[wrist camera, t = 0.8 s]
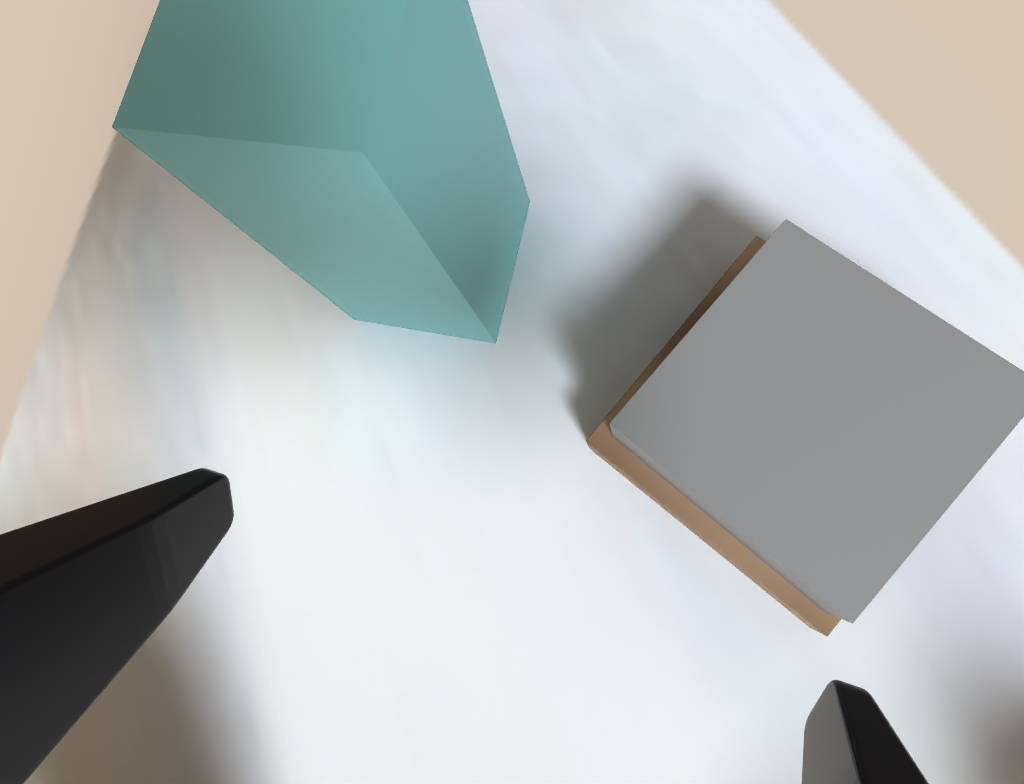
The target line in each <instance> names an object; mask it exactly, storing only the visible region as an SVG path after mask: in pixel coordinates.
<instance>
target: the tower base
mask: <svg viewBox="0 0 1024 784" xmlns="http://www.w3.org/2000/svg"><path fill="white" fill-rule="evenodd" d="M765 243H766V242H765V241H764V240H762V239H761V238H759V237H757V236H756V237H755V238H754V239H753V241H752V242H751V243H750V244H749V246H748V247H747V248H746V249H745V250H744V252H743V253H742V254H741V255H740V256H739V258H738V259H737V260H736V261H735V262H734V264H733V265H732V266H731V267H730V268H729V270H728V271H727V272H726V273H725V274H724V276H723V277H722V278H721V279H720V280H719V282H718V283H717V284H716V285H715V286H714V288H713V289H712V290H711V291H710V293H709V294H708V295H707V296H706V297H705V299H704V300H703V301H702V302H701V303H700V305H699V306H698V307H697V308H696V309H695V311H694V312H693V313H692V314H691V315H690V317H689V318H688V319H687V320H686V321H685V323H684V324H683V325H682V326H681V327H680V329H679V330H678V331H677V332H676V333H675V335H674V336H673V337H672V338H671V340H670V341H669V342H668V343H667V344H666V346H665V347H664V348H663V349H662V350H661V352H660V353H659V354H658V355H657V356H656V358H655V359H654V360H653V361H652V362H651V364H650V365H649V366H648V367H647V368H646V370H645V371H644V372H643V373H642V374H641V376H640V377H639V378H638V379H637V381H636V382H635V383H634V384H633V385H632V387H631V388H630V389H629V390H628V391H627V393H626V394H625V395H624V396H623V397H622V399H621V400H620V401H619V402H618V403H617V405H616V406H615V407H614V408H613V409H612V411H611V412H610V413H609V414H608V415H607V417H606V418H605V419H604V420H603V421H602V423H601V424H600V425H599V426H598V428H597V429H596V430H595V431H594V432H593V434H592V435H591V436H590V437H589V438H588V440H587V441H586V442H587V444H588V446H589V447H590V449H591V450H592V451H593V452H595V453H596V454H597V455H598V456H600V457H601V458H602V459H603V460H604V461H606V462H607V463H608V464H609V465H611V466H612V467H613V468H614V469H616V470H617V471H618V472H619V473H620V474H622V475H623V476H624V477H625V478H627V479H628V480H629V481H630V482H632V483H633V484H634V485H635V486H636V487H638V488H639V489H640V490H641V491H643V492H644V493H645V494H646V495H648V496H649V497H650V498H651V499H652V500H654V501H655V502H656V503H657V504H659V505H660V506H661V507H662V508H664V509H665V510H666V511H667V512H668V513H670V514H671V515H672V516H673V517H675V518H676V519H677V520H678V521H680V522H681V523H682V524H683V525H684V526H686V527H687V528H688V529H689V530H691V531H692V532H693V533H694V534H696V535H697V536H698V537H699V538H700V539H702V540H703V541H704V542H705V543H707V544H708V545H709V546H710V547H712V548H713V549H714V550H715V551H716V552H718V553H719V554H720V555H721V556H723V557H724V558H725V559H726V560H728V561H729V562H730V563H731V564H733V565H734V566H735V567H736V568H737V569H739V570H740V571H741V572H742V573H744V574H745V575H746V576H747V577H749V578H750V579H751V580H752V581H753V582H755V583H756V584H757V585H758V586H760V587H761V588H762V589H763V590H765V591H766V592H767V593H768V594H769V595H771V596H772V597H773V598H774V599H776V600H777V601H778V602H779V603H781V604H782V605H783V606H784V607H785V608H787V609H788V610H789V611H790V612H792V613H793V614H794V615H795V616H797V617H798V618H799V619H800V620H801V621H803V622H804V623H805V624H806V625H808V626H809V627H810V628H812V629H814V630H816V631H818V632H820V633H822V634H824V635H826V636H828V635H829V634H830V632H831V631H832V630H833V629H834V627H835V626H836V625H837V624H838V622H839V621H840V620H841V619H840V618H838V617H835V616H833V615H830V614H828V613H825V612H824V611H823V610H821V609H820V608H819V607H818V606H817V605H815V604H814V603H813V602H812V601H811V600H809V599H808V598H807V597H806V596H805V595H803V594H802V593H801V592H800V591H799V590H797V589H796V588H795V587H794V586H792V585H791V584H790V583H789V582H788V581H786V580H785V579H784V578H783V577H782V576H780V575H779V574H778V573H777V572H776V571H774V570H773V569H772V568H771V567H770V566H768V565H767V564H766V563H765V562H764V561H762V560H761V559H760V558H759V557H757V556H756V555H755V554H754V553H753V552H751V551H750V550H749V549H748V548H747V547H745V546H744V545H743V544H742V543H741V542H739V541H738V540H737V539H736V538H735V537H733V536H732V535H731V534H730V533H729V532H727V531H726V530H725V529H724V528H722V527H721V526H720V525H719V524H718V523H716V522H715V521H714V520H713V519H712V518H710V517H709V516H708V515H707V514H706V513H704V512H703V511H702V510H701V509H700V508H698V507H697V506H696V505H695V504H694V503H692V502H691V501H690V500H689V499H687V498H686V497H685V496H684V495H683V494H681V493H680V492H679V491H678V490H677V489H675V488H674V487H673V486H672V485H671V484H669V483H668V482H667V481H666V480H665V479H663V478H662V477H661V476H660V475H659V474H657V473H656V472H655V471H654V470H652V469H651V468H650V467H649V466H648V465H646V464H645V463H644V462H643V461H642V460H640V459H639V458H638V457H637V456H636V455H634V454H633V453H632V452H631V451H630V450H628V449H627V448H626V447H625V446H624V445H622V444H621V443H620V442H619V441H618V440H616V439H615V438H614V437H613V436H612V431H611V427H610V422H611V421H612V420H613V419H614V418H615V417H616V415H617V414H618V413H619V412H620V411H621V410H622V408H623V407H624V406H625V405H626V404H627V403H628V402H629V400H630V399H631V398H632V397H633V396H634V395H635V393H636V392H637V391H638V390H639V389H640V388H641V386H642V385H643V384H644V383H645V382H646V381H647V380H648V378H649V377H650V376H651V375H652V374H653V373H654V371H655V370H656V369H657V368H658V367H659V366H660V364H661V363H662V362H663V361H664V360H665V359H666V358H667V356H668V355H669V354H670V353H671V352H672V351H673V349H674V348H675V347H676V346H677V345H678V344H679V342H680V341H681V340H682V339H683V338H684V337H685V336H686V334H687V333H688V332H689V331H690V330H691V329H692V327H693V326H694V325H695V324H696V323H697V322H698V320H699V319H700V318H701V317H702V316H703V315H704V314H705V312H706V311H707V310H708V309H709V308H710V307H711V305H712V304H713V303H714V302H715V301H716V300H717V298H718V297H719V296H720V295H721V294H722V293H723V292H724V290H725V289H726V288H727V287H728V286H729V285H730V283H731V282H732V281H733V280H734V279H735V278H736V276H737V275H738V274H739V273H740V272H741V271H742V270H743V268H744V267H745V266H746V265H747V264H748V263H749V261H750V260H751V259H752V258H753V257H754V256H755V254H756V253H757V252H758V251H759V250H760V249H761V248H762V246H763V245H764V244H765Z"/></svg>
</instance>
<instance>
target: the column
mask: <svg viewBox="0 0 1024 784" xmlns="http://www.w3.org/2000/svg"><path fill="white" fill-rule="evenodd" d="M112 127H113V128H114V129H115V130H116V131H118V132H119V133H120V134H122V135H123V136H124V137H125V138H127V139H128V140H129V141H130V142H132V143H133V144H134V145H135V146H137V147H138V148H139V149H140V150H142V151H143V152H144V153H145V154H147V155H148V156H149V157H151V158H152V159H153V160H154V161H156V162H157V163H158V164H159V165H161V166H162V167H163V168H164V169H166V170H167V171H168V172H169V173H171V174H172V175H173V176H174V177H176V178H177V179H178V180H179V181H181V182H182V183H183V184H185V185H186V186H187V187H188V188H190V189H191V190H192V191H193V192H195V193H196V194H197V195H198V196H200V197H201V198H202V199H203V200H205V201H206V202H207V203H208V204H210V205H211V206H212V207H213V208H215V209H216V210H217V211H219V212H220V213H221V214H222V215H224V216H225V217H226V218H227V219H229V220H230V221H231V222H232V223H234V224H235V225H236V226H237V227H239V228H240V229H241V230H242V231H244V232H245V233H246V234H248V235H249V236H250V237H251V238H253V239H254V240H255V241H256V242H258V243H259V244H260V245H261V246H263V247H264V248H265V249H266V250H268V251H269V252H270V253H271V254H273V255H274V256H275V257H276V258H278V259H279V260H280V261H282V262H283V263H284V264H285V265H287V266H288V267H289V268H290V269H292V270H293V271H294V272H295V273H297V274H298V275H299V276H300V277H302V278H303V279H304V280H305V281H307V282H308V283H309V284H311V285H312V286H313V287H314V288H316V289H317V290H318V291H319V292H321V293H322V294H323V295H324V296H326V297H327V298H328V299H329V300H331V301H332V302H333V303H334V304H336V305H337V306H338V307H339V308H341V309H342V310H343V311H345V312H346V313H347V314H348V315H350V316H351V317H352V318H353V319H355V320H361V321H367V322H373V323H379V324H385V325H391V326H397V327H403V328H409V329H415V330H421V331H427V332H433V333H439V334H445V335H451V336H457V337H463V338H468V339H474V340H480V341H486V342H492V343H496V340H497V336H498V332H499V328H500V324H501V319H502V315H503V311H504V307H505V303H506V298H507V294H508V290H509V286H510V282H511V277H512V273H513V269H514V265H515V261H516V256H517V252H518V248H519V244H520V240H521V235H522V231H523V227H524V223H525V219H526V214H527V210H528V206H529V202H530V201H529V198H528V195H527V191H526V188H525V185H524V182H523V178H522V175H521V172H520V169H519V165H518V162H517V159H516V156H515V152H514V149H513V146H512V143H511V139H510V136H509V133H508V130H507V126H506V123H505V120H504V117H503V113H502V110H501V107H500V104H499V100H498V97H497V94H496V91H495V87H494V84H493V81H492V78H491V74H490V71H489V68H488V65H487V62H486V58H485V55H484V52H483V49H482V45H481V42H480V39H479V36H478V32H477V29H476V26H475V23H474V19H473V16H472V13H471V10H470V6H469V3H468V0H160V2H159V5H158V7H157V10H156V13H155V15H154V18H153V20H152V23H151V26H150V28H149V31H148V34H147V36H146V39H145V42H144V44H143V47H142V49H141V52H140V55H139V57H138V60H137V63H136V65H135V68H134V71H133V73H132V76H131V78H130V81H129V84H128V87H127V89H126V92H125V94H124V97H123V100H122V102H121V105H120V107H119V110H118V113H117V116H116V118H115V121H114V123H113V126H112Z"/></svg>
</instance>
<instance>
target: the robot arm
mask: <svg viewBox="0 0 1024 784" xmlns="http://www.w3.org/2000/svg"><path fill="white" fill-rule="evenodd" d="M233 516H234V511H233V504H232V496H231V489H230V482H229V479H228V478H227V476H225V475H224V474H221V473H218V472H215V471H212V470H209V469H205V468H200V469H196V470H193V471H190V472H187V473H184V474H181V475H178V476H175V477H172V478H169V479H166V480H163V481H160V482H157V483H154V484H151V485H148V486H145V487H142V488H139V489H136V490H133V491H130V492H127V493H124V494H121V495H118V496H115V497H112V498H109V499H106V500H103V501H100V502H97V503H94V504H91V505H88V506H85V507H82V508H79V509H76V510H73V511H70V512H67V513H64V514H61V515H58V516H55V517H52V518H49V519H46V520H43V521H40V522H37V523H34V524H31V525H28V526H25V527H22V528H19V529H16V530H13V531H10V532H7V533H4V534H1V535H0V784H24V782H25V781H26V780H27V779H28V778H29V777H30V775H31V774H32V773H33V772H34V771H35V770H36V768H37V767H38V766H39V765H40V764H41V763H42V761H43V760H44V759H45V758H46V757H47V756H48V754H49V753H50V752H51V751H52V750H53V749H54V747H55V746H56V745H57V744H58V743H59V742H60V740H61V739H62V738H63V737H64V736H65V735H66V733H67V732H68V731H69V730H70V729H71V728H72V726H73V725H74V724H75V723H76V722H77V721H78V719H79V718H80V717H81V716H82V715H83V714H84V712H85V711H86V710H87V709H88V708H89V707H90V705H91V704H92V703H93V702H94V701H95V700H96V698H97V697H98V696H99V695H100V694H101V693H102V691H103V690H104V689H105V688H106V687H107V686H108V684H109V683H110V682H111V681H112V680H113V679H114V677H115V676H116V675H117V674H118V673H119V672H120V670H121V669H122V668H123V667H124V666H125V665H126V663H127V662H128V661H129V660H130V659H131V658H132V656H133V655H134V654H135V653H136V652H137V651H138V649H139V648H140V647H141V646H142V645H143V644H144V642H145V641H146V640H147V639H148V638H149V637H150V635H151V634H152V633H153V632H154V631H155V630H156V628H157V627H158V626H159V625H160V624H161V623H162V621H163V620H164V619H165V618H166V616H167V615H168V614H169V613H170V612H171V610H172V609H173V608H174V606H175V605H176V604H177V602H178V601H179V600H180V598H181V597H182V596H183V594H184V593H185V591H186V590H187V589H188V587H189V586H190V584H191V583H192V581H193V580H194V579H195V577H196V576H197V574H198V573H199V571H200V570H201V569H202V567H203V566H204V564H205V563H206V561H207V560H208V559H209V557H210V556H211V554H212V553H213V552H214V550H215V549H216V547H217V546H218V544H219V543H220V542H221V540H222V539H223V537H224V536H225V534H226V533H227V532H228V530H229V528H230V526H231V524H232V521H233ZM802 784H929V783H928V782H927V780H926V779H925V777H924V776H923V774H922V773H921V771H920V770H919V768H918V766H917V765H916V763H915V762H914V760H913V759H912V757H911V756H910V754H909V753H908V751H907V750H906V748H905V746H904V745H903V743H902V742H901V740H900V739H899V737H898V736H897V734H896V733H895V731H894V730H893V728H892V726H891V725H890V723H889V722H888V720H887V719H886V717H885V716H884V714H883V713H882V711H881V709H880V708H879V706H878V705H877V703H876V702H875V700H874V699H873V697H872V696H871V695H870V694H869V693H868V692H867V691H866V690H865V689H862V688H860V687H857V686H854V685H851V684H848V683H845V682H842V681H839V680H833V681H831V682H830V683H829V684H828V685H827V686H826V688H825V690H824V691H823V693H822V695H821V696H820V698H819V699H818V701H817V703H816V704H815V706H814V708H813V709H812V711H811V713H810V714H809V716H808V719H807V721H806V725H805V731H804V748H803V769H802Z"/></svg>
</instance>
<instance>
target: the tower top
mask: <svg viewBox="0 0 1024 784" xmlns="http://www.w3.org/2000/svg"><path fill="white" fill-rule="evenodd" d="M1023 417H1024V371H1022V370H1021V369H1019V368H1018V367H1016V366H1014V365H1013V364H1011V363H1010V362H1008V361H1007V360H1005V359H1003V358H1002V357H1000V356H999V355H997V354H996V353H994V352H993V351H991V350H989V349H988V348H986V347H985V346H983V345H982V344H980V343H978V342H977V341H975V340H974V339H972V338H971V337H969V336H968V335H966V334H964V333H963V332H961V331H960V330H958V329H957V328H955V327H953V326H952V325H950V324H949V323H947V322H946V321H944V320H943V319H941V318H939V317H938V316H936V315H935V314H933V313H932V312H930V311H929V310H927V309H925V308H924V307H922V306H921V305H919V304H918V303H916V302H914V301H913V300H911V299H910V298H908V297H907V296H905V295H904V294H902V293H900V292H899V291H897V290H896V289H894V288H893V287H891V286H889V285H888V284H886V283H885V282H883V281H882V280H880V279H879V278H877V277H875V276H874V275H872V274H871V273H869V272H868V271H866V270H864V269H863V268H861V267H860V266H858V265H857V264H855V263H854V262H852V261H850V260H849V259H847V258H846V257H844V256H843V255H841V254H839V253H838V252H836V251H835V250H833V249H832V248H830V247H829V246H827V245H825V244H824V243H822V242H821V241H819V240H818V239H816V238H814V237H813V236H811V235H810V234H808V233H807V232H805V231H804V230H802V229H800V228H799V227H797V226H796V225H794V224H793V223H791V222H789V221H788V220H785V221H784V222H783V223H782V224H781V226H780V227H779V228H778V229H777V230H776V231H775V232H774V234H773V235H772V236H771V237H770V238H769V239H768V241H767V242H766V243H765V244H764V245H763V246H762V248H761V249H760V250H759V251H758V252H757V253H756V254H755V256H754V257H753V258H752V259H751V260H750V261H749V263H748V264H747V265H746V266H745V267H744V268H743V270H742V271H741V272H740V273H739V274H738V275H737V276H736V278H735V279H734V280H733V281H732V282H731V283H730V285H729V286H728V287H727V288H726V289H725V290H724V292H723V293H722V294H721V295H720V296H719V297H718V298H717V300H716V301H715V302H714V303H713V304H712V305H711V307H710V308H709V309H708V310H707V311H706V312H705V314H704V315H703V316H702V317H701V318H700V319H699V320H698V322H697V323H696V324H695V325H694V326H693V327H692V329H691V330H690V331H689V332H688V333H687V334H686V336H685V337H684V338H683V339H682V340H681V341H680V342H679V344H678V345H677V346H676V347H675V348H674V349H673V351H672V352H671V353H670V354H669V355H668V356H667V358H666V359H665V360H664V361H663V362H662V363H661V364H660V366H659V367H658V368H657V369H656V370H655V371H654V373H653V374H652V375H651V376H650V377H649V378H648V380H647V381H646V382H645V383H644V384H643V385H642V386H641V388H640V389H639V390H638V391H637V392H636V393H635V395H634V396H633V397H632V398H631V399H630V400H629V402H628V403H627V404H626V405H625V406H624V407H623V408H622V410H621V411H620V412H619V413H618V414H617V415H616V417H615V418H614V419H613V420H612V421H611V422H610V427H611V431H612V436H613V437H614V438H615V439H616V440H618V441H619V442H620V443H621V444H622V445H624V446H625V447H626V448H627V449H628V450H630V451H631V452H632V453H633V454H634V455H636V456H637V457H638V458H639V459H640V460H642V461H643V462H644V463H645V464H646V465H648V466H649V467H650V468H651V469H652V470H654V471H655V472H656V473H657V474H659V475H660V476H661V477H662V478H663V479H665V480H666V481H667V482H668V483H669V484H671V485H672V486H673V487H674V488H675V489H677V490H678V491H679V492H680V493H681V494H683V495H684V496H685V497H686V498H687V499H689V500H690V501H691V502H692V503H694V504H695V505H696V506H697V507H698V508H700V509H701V510H702V511H703V512H704V513H706V514H707V515H708V516H709V517H710V518H712V519H713V520H714V521H715V522H716V523H718V524H719V525H720V526H721V527H722V528H724V529H725V530H726V531H727V532H729V533H730V534H731V535H732V536H733V537H735V538H736V539H737V540H738V541H739V542H741V543H742V544H743V545H744V546H745V547H747V548H748V549H749V550H750V551H751V552H753V553H754V554H755V555H756V556H757V557H759V558H760V559H761V560H762V561H764V562H765V563H766V564H767V565H768V566H770V567H771V568H772V569H773V570H774V571H776V572H777V573H778V574H779V575H780V576H782V577H783V578H784V579H785V580H786V581H788V582H789V583H790V584H791V585H792V586H794V587H795V588H796V589H797V590H799V591H800V592H801V593H802V594H803V595H805V596H806V597H807V598H808V599H809V600H811V601H812V602H813V603H814V604H815V605H817V606H818V607H819V608H820V609H821V610H823V611H824V612H825V613H828V614H830V615H833V616H835V617H838V618H840V619H843V620H845V621H848V622H851V623H853V622H854V621H855V620H856V619H857V618H858V616H859V615H860V614H861V613H862V612H863V610H864V609H865V608H866V607H867V605H868V604H869V603H870V602H871V601H872V599H873V598H874V597H875V596H876V595H877V593H878V592H879V591H880V590H881V589H882V587H883V586H884V585H885V584H886V582H887V581H888V580H889V579H890V578H891V576H892V575H893V574H894V573H895V572H896V570H897V569H898V568H899V567H900V566H901V564H902V563H903V562H904V561H905V560H906V558H907V557H908V556H909V555H910V553H911V552H912V551H913V550H914V549H915V547H916V546H917V545H918V544H919V543H920V541H921V540H922V539H923V538H924V537H925V535H926V534H927V533H928V532H929V530H930V529H931V528H932V527H933V526H934V524H935V523H936V522H937V521H938V520H939V518H940V517H941V516H942V515H943V514H944V512H945V511H946V510H947V509H948V507H949V506H950V505H951V504H952V503H953V501H954V500H955V499H956V498H957V497H958V495H959V494H960V493H961V492H962V491H963V489H964V488H965V487H966V486H967V485H968V483H969V482H970V481H971V480H972V478H973V477H974V476H975V475H976V474H977V472H978V471H979V470H980V469H981V468H982V466H983V465H984V464H985V463H986V462H987V460H988V459H989V458H990V457H991V455H992V454H993V453H994V452H995V451H996V449H997V448H998V447H999V446H1000V445H1001V443H1002V442H1003V441H1004V440H1005V439H1006V437H1007V436H1008V435H1009V434H1010V432H1011V431H1012V430H1013V429H1014V428H1015V426H1016V425H1017V424H1018V423H1019V422H1020V420H1021V419H1022V418H1023Z"/></svg>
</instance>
